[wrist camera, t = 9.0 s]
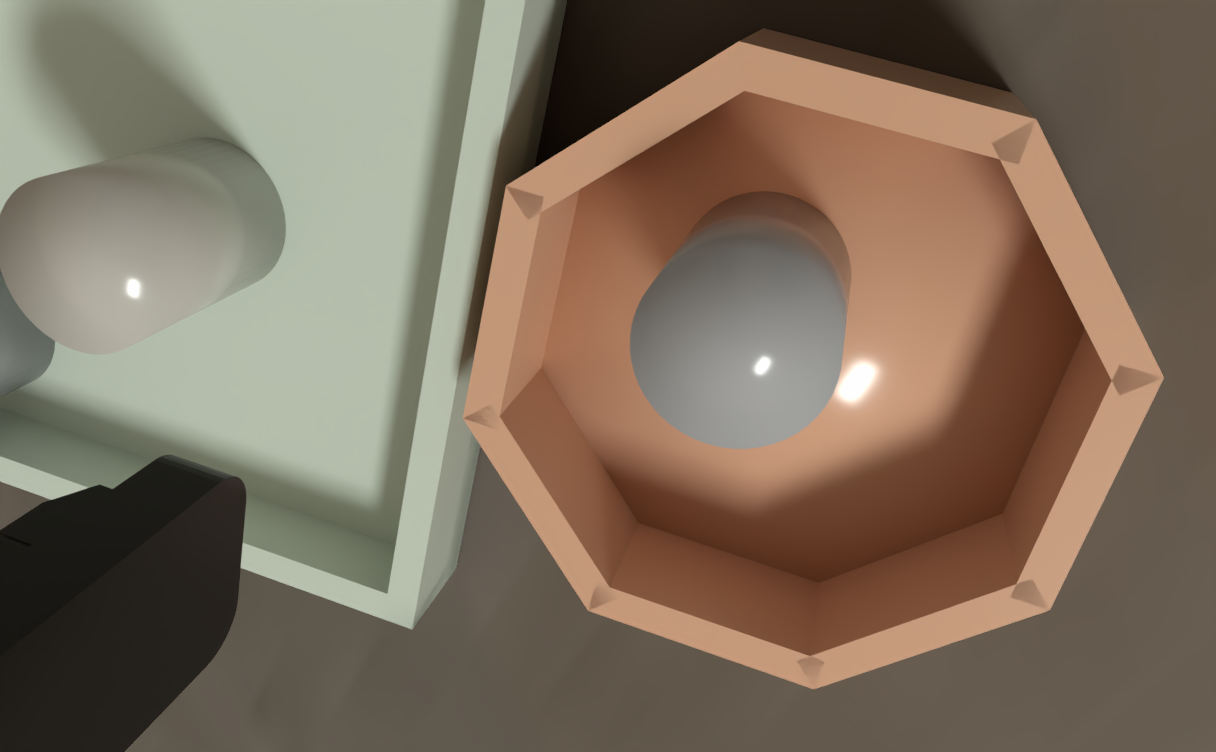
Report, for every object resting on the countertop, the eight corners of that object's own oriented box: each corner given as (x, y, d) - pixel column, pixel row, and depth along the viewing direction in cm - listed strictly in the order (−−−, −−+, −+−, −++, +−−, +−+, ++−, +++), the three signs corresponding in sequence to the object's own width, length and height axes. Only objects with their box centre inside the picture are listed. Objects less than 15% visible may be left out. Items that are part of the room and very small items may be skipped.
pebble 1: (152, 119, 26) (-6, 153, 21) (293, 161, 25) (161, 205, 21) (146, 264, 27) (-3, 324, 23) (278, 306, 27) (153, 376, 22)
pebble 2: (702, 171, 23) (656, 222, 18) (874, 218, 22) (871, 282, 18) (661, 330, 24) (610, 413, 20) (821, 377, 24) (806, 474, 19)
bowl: (597, -15, 23) (542, -11, 19) (1198, 141, 21) (1262, 178, 18) (495, 481, 28) (437, 558, 25) (970, 640, 26) (982, 748, 23)
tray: (-204, -321, 25) (-338, -355, 22) (592, -126, 22) (550, -138, 19) (-147, 358, 32) (-241, 394, 30) (456, 568, 30) (412, 629, 27)
